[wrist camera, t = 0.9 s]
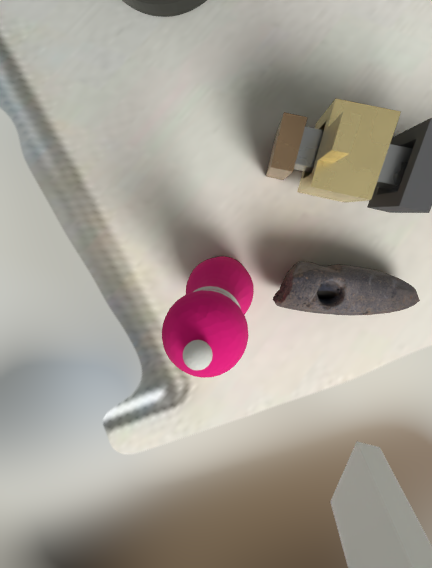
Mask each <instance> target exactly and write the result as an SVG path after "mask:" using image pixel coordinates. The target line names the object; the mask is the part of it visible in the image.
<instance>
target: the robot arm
mask: <svg viewBox="0 0 432 568" xmlns="http://www.w3.org/2000/svg"><path fill="white" fill-rule="evenodd" d="M123 1H124V2H125V3H126V4H128V5H129V6H131V7H132V8H134V9H136V10H138V11H140V12H143V13H145V14H149V15H153V16H163V17H164V16H175V15H180V14H183V13H186V12H188V11H191V10H193V9H195V8H197V7H198V6H200V5H201V4H203V3H204V2H205V1H207V0H123ZM331 505H332V509H333V513H334V517H335V520H336V524H337V528H338V532H339V535H340V539H341V543H342V546H343V550H344V554H345V558H346V561H347V565H348V568H432V545H431V544H430V542H429V540H428V538H427V536H426V534H425V532H424V530H423V528H422V527H421V525H420V523H419V521H418V519H417V517H416V515H415V513H414V511H413V510H412V508H411V506H410V504H409V502H408V500H407V498H406V496H405V494H404V492H403V490H402V489H401V487H400V485H399V483H398V481H397V479H396V477H395V475H394V473H393V471H392V470H391V468H390V466H389V464H388V462H387V460H386V458H385V456H384V454H383V452H382V451H381V449H380V447H376V446H373V445H368V444H365V443H361V442H356V444H355V446H354V449H353V451H352V453H351V456H350V458H349V460H348V463H347V465H346V468H345V470H344V472H343V474H342V476H341V479H340V481H339V483H338V486H337V488H336V490H335V492H334V495H333V497H332V499H331Z"/></svg>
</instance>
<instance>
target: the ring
mask: <svg viewBox="0 0 432 568" xmlns="http://www.w3.org/2000/svg"><path fill="white" fill-rule="evenodd" d="M390 144H392V145H397V146H402V147H407V148H412V149H413V150H412V153H411V155H410V158H409V161H408V164H407V167H406V169H405V172H404V175H403V178H402V181H401V183H400V186H399V189H398V192H397V191H393V190H388V189H383V188H379V187H375V190H374V193H373V196H372V199H371V200H370V201H369V204H368V208H372V209H377V210H382V211H386V212H395V213H429V211H430V209H431V206H432V118H430V119H428V120H426V121H424V122H422V123H420V124H418V125H416V126H414V127H413V128H411V129H409V130H407V131H405V132H403V133H401V134H399V135H397V136H395V137H393V138H392V140H391V143H390Z"/></svg>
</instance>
